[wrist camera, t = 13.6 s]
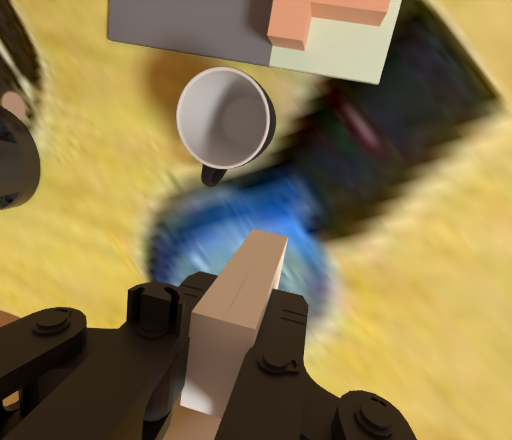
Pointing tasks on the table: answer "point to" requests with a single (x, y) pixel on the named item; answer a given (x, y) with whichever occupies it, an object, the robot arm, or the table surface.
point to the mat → (253, 36)
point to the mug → (224, 120)
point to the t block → (319, 6)
